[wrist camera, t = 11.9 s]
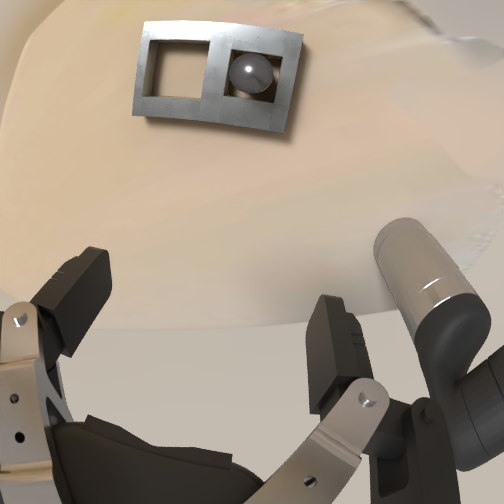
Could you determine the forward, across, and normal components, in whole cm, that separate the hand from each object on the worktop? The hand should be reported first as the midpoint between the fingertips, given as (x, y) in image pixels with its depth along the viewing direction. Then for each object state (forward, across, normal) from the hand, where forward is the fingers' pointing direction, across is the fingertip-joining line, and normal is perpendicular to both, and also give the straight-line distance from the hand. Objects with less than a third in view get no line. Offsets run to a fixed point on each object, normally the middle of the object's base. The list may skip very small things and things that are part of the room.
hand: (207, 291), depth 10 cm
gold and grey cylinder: (+28, +2, -9) cm, 29 cm away
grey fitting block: (+28, +6, -9) cm, 30 cm away
